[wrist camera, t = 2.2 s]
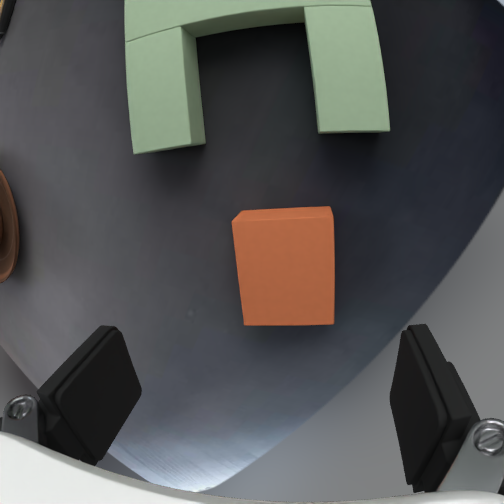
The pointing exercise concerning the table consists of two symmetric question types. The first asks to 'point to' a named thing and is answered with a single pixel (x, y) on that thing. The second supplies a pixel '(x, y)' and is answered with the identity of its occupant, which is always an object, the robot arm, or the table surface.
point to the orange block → (286, 265)
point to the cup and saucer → (7, 230)
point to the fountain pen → (5, 15)
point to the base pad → (240, 17)
